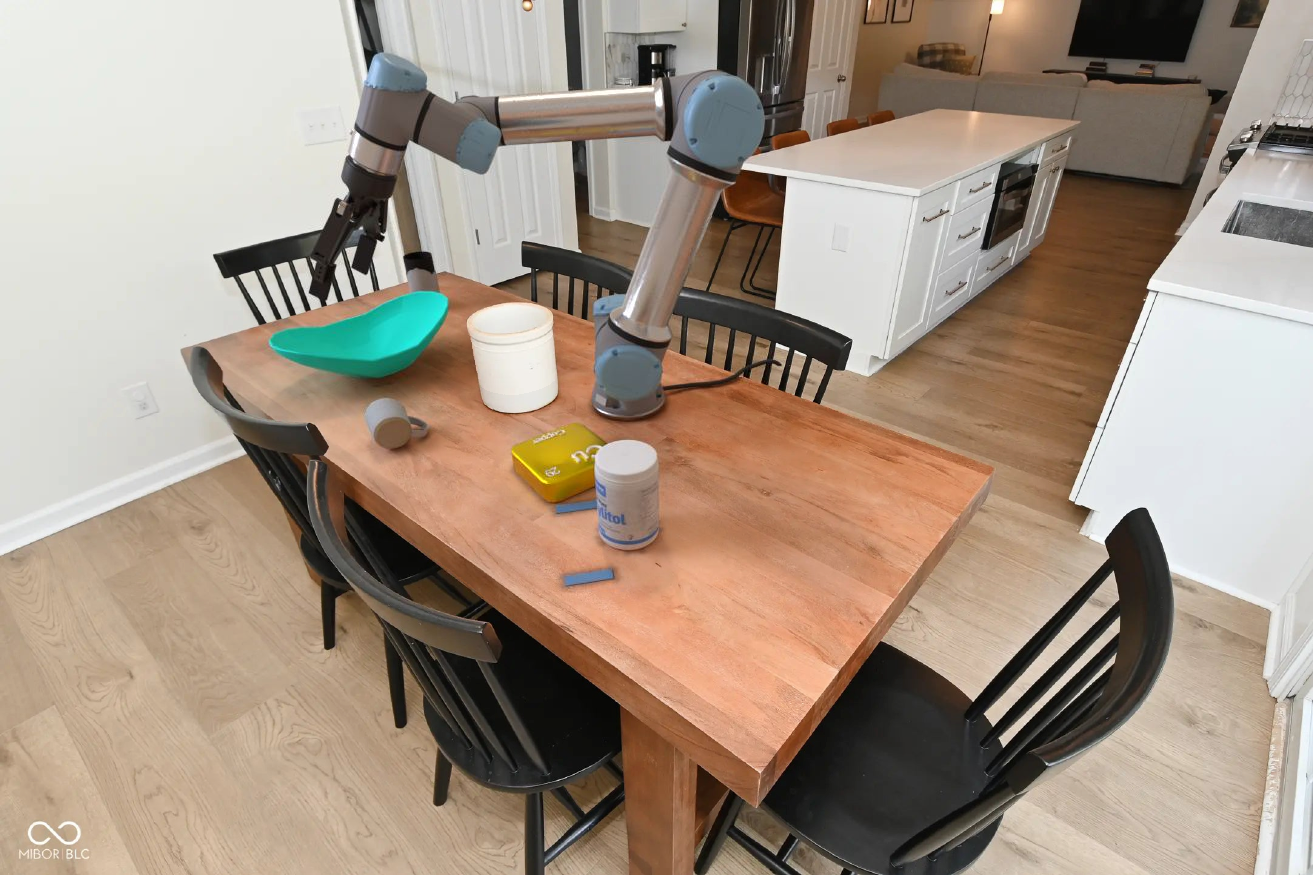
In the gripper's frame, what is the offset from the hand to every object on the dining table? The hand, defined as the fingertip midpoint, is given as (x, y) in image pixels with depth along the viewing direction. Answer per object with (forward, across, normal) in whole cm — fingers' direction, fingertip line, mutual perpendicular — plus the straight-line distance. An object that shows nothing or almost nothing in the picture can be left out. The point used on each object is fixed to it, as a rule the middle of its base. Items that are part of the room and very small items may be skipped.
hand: (339, 283), depth 113 cm
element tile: (+11, +4, +48) cm, 49 cm away
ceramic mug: (+28, -4, +17) cm, 33 cm away
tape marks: (+8, +22, +54) cm, 59 cm away
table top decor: (+36, -32, +1) cm, 48 cm away
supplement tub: (+5, +20, +60) cm, 64 cm away
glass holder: (+36, -74, -3) cm, 82 cm away
